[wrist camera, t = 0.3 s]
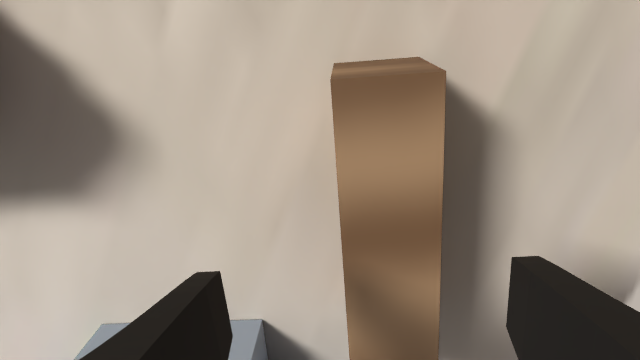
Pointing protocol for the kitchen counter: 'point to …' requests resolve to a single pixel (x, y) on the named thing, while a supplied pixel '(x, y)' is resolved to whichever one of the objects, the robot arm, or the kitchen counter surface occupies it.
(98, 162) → the kitchen counter surface
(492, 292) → the kitchen counter surface
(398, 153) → the brown block
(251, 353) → the blue-grey stepped platform
